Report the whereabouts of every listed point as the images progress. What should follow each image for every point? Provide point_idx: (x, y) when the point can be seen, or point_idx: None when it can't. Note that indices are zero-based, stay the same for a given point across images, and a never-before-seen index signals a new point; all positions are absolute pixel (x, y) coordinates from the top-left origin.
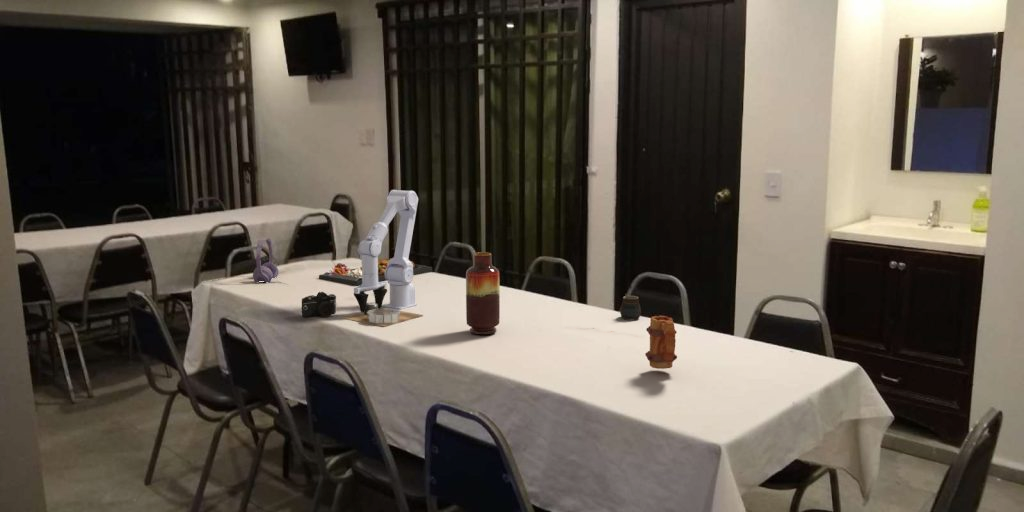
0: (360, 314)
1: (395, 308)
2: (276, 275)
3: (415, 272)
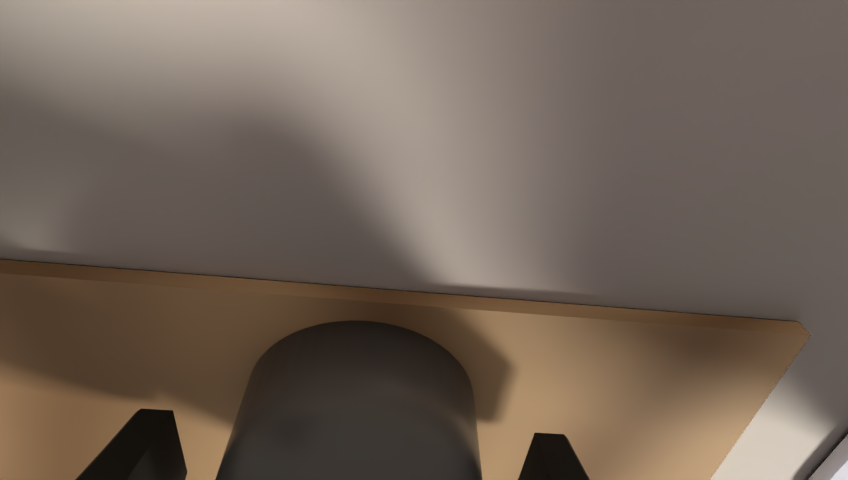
0: (189, 331)
1: (844, 441)
2: None
3: None
